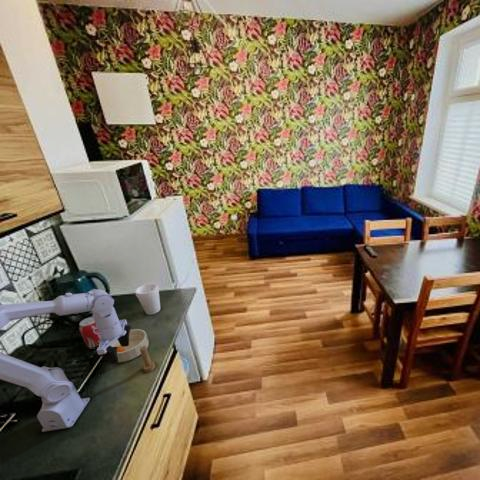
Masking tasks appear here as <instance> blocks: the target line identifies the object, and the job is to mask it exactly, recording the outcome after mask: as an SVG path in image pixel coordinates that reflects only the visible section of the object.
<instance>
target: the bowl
mask: <svg viewBox="0 0 480 480" xmlns="http://www.w3.org/2000/svg"><path fill="white" fill-rule="evenodd" d="M110 346H112V347H117V346H118V347H119V346H121V345H120V343H119V341H118V339H117V340H116V341H114V342H113V343H112V344H111V345H110ZM143 346H146V348H147V349H148V347H149V346H150V341H149V337H148V334H147V332H146V331H145V330H143V329H140V328H135V329H130V333H129V346H125V351H123V352H117V356H118V362H117V363H125V362H129V361H131V360H133V359H136V358H137V357H139V356H140V355H142V354H141V351H140V348H141V347H143Z"/></svg>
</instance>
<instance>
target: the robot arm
mask: <svg viewBox="0 0 480 480" xmlns="http://www.w3.org/2000/svg"><path fill="white" fill-rule="evenodd" d="M114 305H115V299H114V298H113V297H112V296H111V295H110V294H109V293H108V292H107V291H105V290H103V289H100V288H97V289H96V288H93V289H90V290H89V291H87V292H83V293H82V292H81V293H74V294H72V293H71V292H66V293H64V295H59V296H57V297H56V298H54V299H53V300H43V301H32V302H31V301H29V302H19V303H6V304H4V303H3V304H0V331H1V330H2V329H3V328H5V327H6V326H7V325H8V324H9V323H10V322H12V321H15V320H21V319H26V318H32V317H36V316H42V315H47V314H56V315H57V316H67V315H74V314H79V313H80V314H81V313H86V312H87V313H88V312H90V311H91V313H92V317H93V318H94V320H95V323H96V325H97V328H98V330H99V332H100V335H101V339H100V343H99V347H98V348H96V350H95V354H96V355H97V356H100V357H101V358H104V359H105V360H106V361H107V362H108V363H109V364H111V365H112V364H118V363H119V362H118V356H117V347H118V346H117V347H112V346H110V345H111V344H112V343H113V342H114V341H116V340H117V339H118V341H119V343H120V345H121V346H122V347H125V346H129V333H130V330H132V327H131V325H128V321H127V319H126V318H125V319H124V318H123V319H119V317H118V314H117V311H116V308H115V307H114ZM0 380H2V381H5V382H8V383H10V384H14V385H17V386H21V387H23V388H26V389H28V390H29V391H30V392H31V393H33V394H34V395H36V397H37V396H38V397H41V402H42V403H41V404H42V405H41V408H40V410H39V411H38V413H37V415H36V419H37V420H38V422H39V423H40V425H41V427H42V429H41V432H43V433H44V432H50V431H56V430H61V429H68V428H69V429H70V428H71V427H73V426H74V424H75V423H76V421H77V420H78V418H79V417H80V416H81V414H82V412H83V411H84V409H85V408H86V406H87V405H88V403H89V402H90V400H91V398H90V397H85V398H84V397H83V398H81V396H80V394H79V393H78V390H77V388H76V386H75V385H74V383H73V382H72V381H70V380H69V379H68V377H67V375H66V374H65V370H64V369H63V368H61V367H48V366H46V365H45V366H41V367H40V366H38V365H35V364H32V363H29V362H27V361H24V360H22V359H19V358H16V357H14V356H11V355H9V354H6V353H3V352H1V351H0Z"/></svg>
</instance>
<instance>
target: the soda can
mask: <svg viewBox="0 0 480 480" xmlns="http://www.w3.org/2000/svg"><path fill="white" fill-rule="evenodd" d="M78 329H79V332H80V335H81V337H82V339H83V342H84V343H85V346H86V347H87V348H88V347H89V348H88V349H91V350H92V349H93V350H94V349H98V347H97V346H99V343H100V339H101V335H100V332H99V330H98V328H97V325H96V323H95V320H94V318H93V316H89V317H86V318H84V319H82V320H81V321H80V322H79V327H78ZM94 347H96V348H94Z"/></svg>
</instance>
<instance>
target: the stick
mask: <svg viewBox="0 0 480 480" xmlns="http://www.w3.org/2000/svg"><path fill="white" fill-rule="evenodd" d="M140 351H141V354H140V355H141V357H142V360H143V362H144V364H143V365H142V367H143V368H142V369H143V372H145V373H149V372H152V371H153V370H154V369H155V368H156V364H155V362H154V361H153V360H152V359H151V357H150V354H149V351H148V347H147V348H146V346H143V347H141V348H140Z"/></svg>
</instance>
